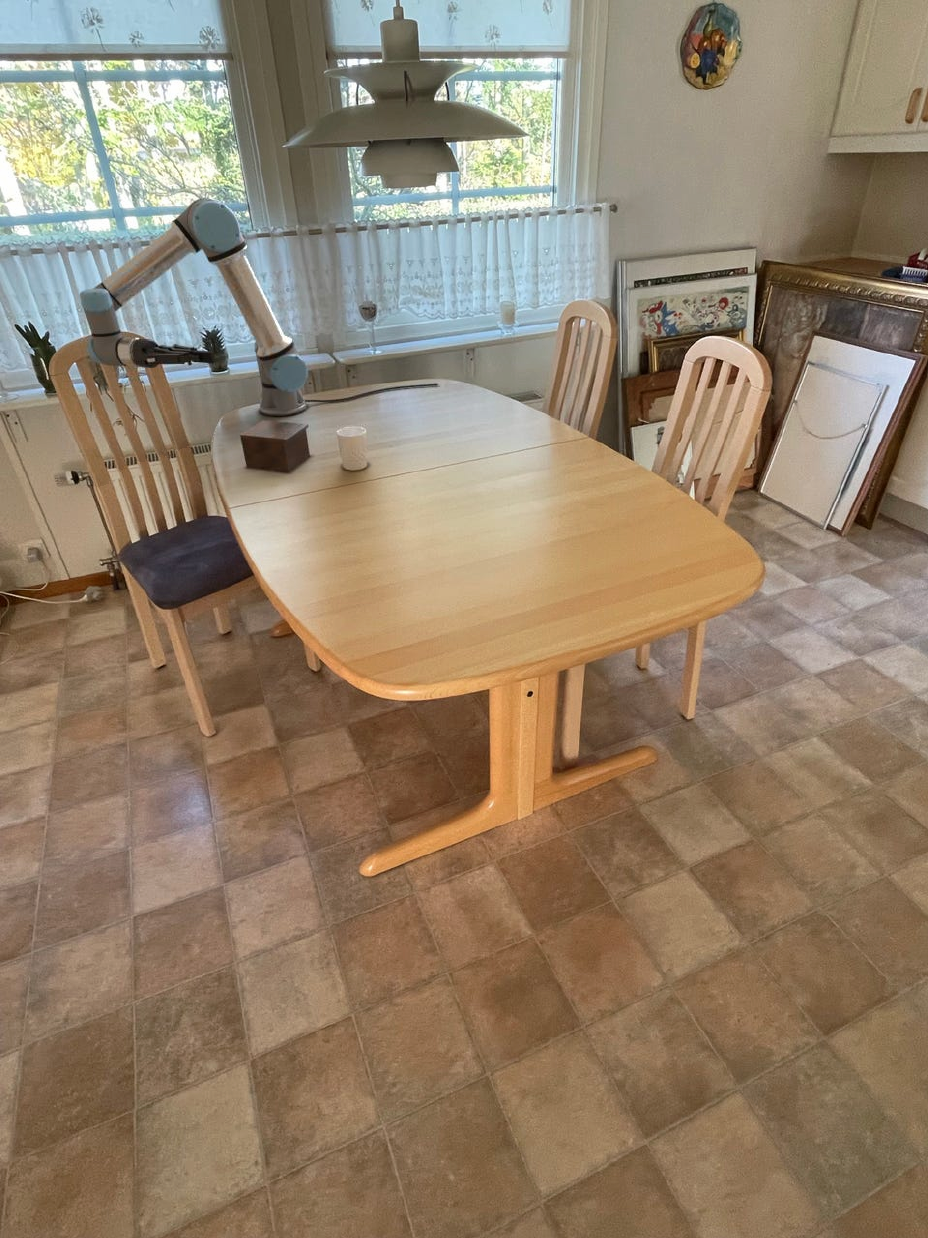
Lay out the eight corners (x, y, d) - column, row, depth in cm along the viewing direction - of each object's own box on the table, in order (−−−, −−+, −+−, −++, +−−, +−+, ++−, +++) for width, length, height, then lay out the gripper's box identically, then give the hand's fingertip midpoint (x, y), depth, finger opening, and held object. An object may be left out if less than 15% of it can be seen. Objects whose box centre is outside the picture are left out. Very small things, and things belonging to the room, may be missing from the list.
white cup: (355, 473, 190) (351, 438, 184) (335, 467, 194) (330, 432, 188) (375, 464, 195) (371, 429, 189) (355, 458, 199) (351, 424, 193)
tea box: (310, 456, 201) (305, 426, 196) (288, 472, 191) (283, 442, 187) (269, 451, 205) (264, 422, 200) (246, 467, 195) (240, 437, 190)
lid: (308, 427, 196) (308, 424, 195) (286, 442, 186) (285, 439, 186) (264, 422, 200) (263, 419, 199) (240, 437, 190) (239, 434, 190)
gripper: (159, 360, 199) (230, 365, 193) (128, 373, 189) (202, 378, 183) (152, 333, 195) (224, 336, 189) (120, 344, 185) (195, 348, 179)
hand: (213, 357), depth 186 cm, fingers closed
